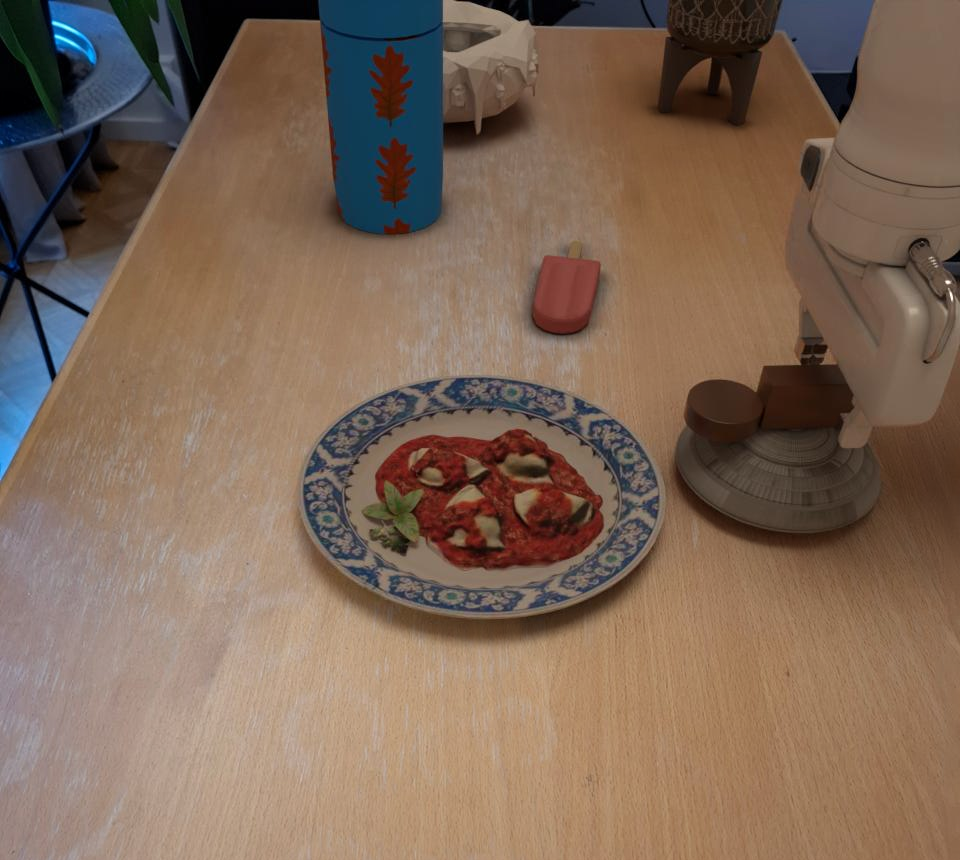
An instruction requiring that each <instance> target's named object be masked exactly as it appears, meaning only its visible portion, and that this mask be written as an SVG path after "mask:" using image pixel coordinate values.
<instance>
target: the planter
mask: <svg viewBox="0 0 960 860" xmlns="http://www.w3.org/2000/svg"><path fill="white" fill-rule="evenodd" d="M783 1H784V0H668V2H667V11H666V30H667V33H668V34H669V36H665V41H664V51H663V58H662V59H663V60H662V68H661V77H660V86H659V92H658V93H659V94H658V102H657V109H658V110H659V112H660V113H670V112H671V109H672V106H673V102H674V99H675V97H676V94H677V91H678V89H679V86H680V84H681V83H682V81H683V79H684V78H685V77H686V76H687V74H688V73H689V72H690V71H691V70H692V69H694V67H696V66H697V65H698V64H700V63H701V62H704V61H706V60H708V59H711V62H710V69H709V77H708V82H707V87H706V88H707V89H706V94H707V95H711V96H718V94H719V92H720V87H721V82H722V77H723V72H724V71H725V73H726V75H727V78H728V81H729V86H730V91H731V108H730V109H731V112H730V117H729V118H730V119H729V122H730V123H731V124H733V125H735V126H740V125H742V124H745V121H746V118H747V114H748V111H749V106H750V102H751V98H752V94H753V90H754V87H755V86H754V85H755V84H756V80H757V79H756V78H757V75H758V72H759V71H758V70H759V67H760V64H761V60H762V55H763V51H762V50H760V49H762V48H764V47H765V46H767V45H768V44H769V42H770V41H771V40H772V38H773V36H774V34H775V31H776V27H777V23H778V19H779V15H780V12H781V7H782V6H783V5H782V4H783Z"/></svg>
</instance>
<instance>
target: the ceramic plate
mask: <svg viewBox="0 0 960 860" xmlns="http://www.w3.org/2000/svg"><path fill="white" fill-rule="evenodd" d="M297 479H298V480H297V494H296V495H297V505H298V509H299V514H300V517H301V520H302V523H303V525H304V528H305V531H306V532H307V534H308V536H309V538H310V540H311V542H312V543H313V544H314V546H315V547H316V549H317V550H318V551H319V553H320V554H321V555H322V556H323V558H324V559H326V561H327V562H328V563H329V564H330V565H331V566H332V567H333V568H335V569H336V570H337V571H338V572H339V573H340V574H342V575H343V576H344V577H346V578H348V579H349V580H350V581H352V582H353V583H355V584H356V585H358V586H359V587H361V588H362V589H364V590H366V591H368V592H370V593H372V594H374V595H376V596H379V597H380V598H382V599H384V600H387V601H389V602H392V603H395V604H397V605H400V606H403V607H406V608H408V609H412V610H416V611H420V612H424V613H427V614H433V615H439V616H442V617H443V616H444V617H450V618H461V619H470V620H505V619H506V620H508V619H516V618H525V617H526V618H527V617H531V616H538V615H542V614H548V613H552V612H555V611H559V610H563V609H566V608H568V607H572V606H575V605H577V604H579V603H583V602H584V601H587V600H589V599H591V598H593V597H595V596H598V595H600V594H601V593H603V592H604V591H607V590H608V589H610V588H612V587H613V586H614V585H616V584H617V583H619V582H620V581H621V580H622V579H624V578H625V577H627V576H628V575H629V574H630V573H631V572H632V571H633V570H634V569H636V568H637V566H638V565H639V564H640V563H641V562H642V561H643V560H644V558H646V556H647V555H648V553H649V552H650V550H651V549H652V548H653V546H654V544H655V542H656V540H657V538H658V536H659V534H660V531H661V529H662V525H663V522H664V520H665V514H666V509H667V508H666V507H667V500H666V499H667V498H666V497H667V496H666V495H667V494H666V487H665V481H664V478H663V475H662V471H661V469H660V466H659V464H658V461H657V460H656V458H655V456H654V455H653V453H652V451H651V450H650V448H649V447H648V446H647V444H646V443H645V442H644V440H643V439H642V438H641V436H639V434H637V433H636V432H635V431H634V430H633V428H631V427H630V426H629V425H628V424H627V423H625V422H624V421H623V420H622V419H620V418H619V417H618V416H617V415H615V414H614V413H613V412H611V411H610V410H608V409H606V408H604V407H603V406H602V405H599V404H597V403H596V402H594V401H592V400H591V399H588V398H586V397H585V396H582V395H579V394H577V393H575V392H572V391H569V390H566V389H564V388H560V387H558V386H555V385H552V384H548V383H544V382H540V381H536V380H532V379H526V378H521V377H520V378H519V377H512V376H507V375H493V374H459V375H447V376H438V377H437V376H436V377H428V378H424V379H419V380H416V381H413V382H408V383H405V384H400V385H398V386H394V387H391V388H389V389H386V390H384V391H380V392H378V393H375V394H374V395H371V396H369V397H367V398H365V399H363V400H362V401H359V402H358V403H357V404H355V405H353V406H351V407H350V408H349V409H347V410H346V411H344V412H342V413H341V414H340V415H338V416H337V417H335V418H334V419H333V420H332V421H331V422H330V423H329V424H328V425H327V426H326V427H325V428H324V429H323V430H322V431H321V432H320V434H318V436H317V438H316V439H315V440H314V441H313V443H312V444H311V445H310V447H309V449H308V451H307V453H306V455H305V456H304V459H303V461H302V464H301V467H300V470H299V474H298V478H297Z"/></svg>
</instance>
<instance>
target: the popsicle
mask: <svg viewBox="0 0 960 860" xmlns="http://www.w3.org/2000/svg"><path fill="white" fill-rule="evenodd" d="M582 249H583V243H582V242H581V241H577V240H573V241H571V242H570V245H569V248H568V254H567V256H559V255H551V254H546V255H544V257H543V259H542V263H541V267H540V271H539V274H538V279H537V282H536V283H537V284H536V288H535V292H534V298H533V303H532V312H531V313H532V314H531V315H532V317H533V319H534V322H535V325H537V326H538V327H539V328H541V329H542V330H543V331H547V332H550V333H554V334H562V335H563V334H573V333H575V332H579V331H581V330H582V329H583V328H585V326H586V325H587V324H588V323H589V322H590V317H591V314H592V310H593V305H594V303H595V299H596V294H597V289H598V285H599V281H600V274H601V268H602V267H601V266H602V264H601V261H599V260H595V259H594V260H593V259H585V258H583V259H582V258H581V255H582Z"/></svg>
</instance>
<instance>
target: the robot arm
mask: <svg viewBox="0 0 960 860" xmlns="http://www.w3.org/2000/svg"><path fill="white" fill-rule="evenodd" d="M856 65H857V66H856V87H855V90H854V91H855V92H854V94H853V98H852V101H851V104H850V106H849V109H848V110H847V112H846V114H845V116H844V117H843V118H842V120H841V122H840V123H839V126H838V127H837V129H836V132H835V135H834V137H820V138H819V137H818V138H817V137H816V138H808V139H806V140H805V141H804V143H803V145H802V148H801V151H800V155H799V159H798V164H797V170H798V174H799V176H800V177H801V179H800V181H799V183H798V185H797V188H796V193H795V196H794V200H793V203H792V209H791V212H790V217H789V222H788V226H787V231H786V237H785V240H784V264H785V265H784V266H785V270H786V271H787V273H788V275H789V276H790V278H791V280H792V282H793V284H794V286H795V288H796V289H797V292H798V293H799V295H800V300H799V303H798V336H797V338H796V341H795V346H794V349H793V352H794V353H793V354H794V355H795V357H796V358H797V360H798V362H799V365H822V363H823V362H824V360H825V358H826V353H827V352H828V350H829V351H830V354H831V355H832V357H833V359H834V361H835V364H837V365H838V367H839V368H840V370H841V372H842V374H843V376H844V378H845V380H846V382H847V384H848V385H849V387H850V389H851V391H852V393H853V395H854V396H853V398H852V404H853V406H855V407H854V409H853V410H852V411H851V412H850V413H840V414H839V417H838V420H837V426H835V428H834V433H835V436H836V438H837V440H838V442H839V444H840V446H841V447H842V448H860V447H862V446H864V445H865V444H866V443H868V440H869V438H870V435H871V433H872V430H873V428H911V427H912V428H913V427H918V426H922V425H924V424H925V423H927V422H929V421H930V420H931V419H932V418H933V417H934V416H935V414H936V412H937V410H938V408H939V405H940V403H941V400H942V399H943V398H942V397H943V395H944V392H945V389H946V387H947V384H948V381H949V379H950V376H951V373H952V370H953V366H954V364H955V360H956V358H957V355H958V351H959V348H960V301H959V299H958V297H957V296H956V293H957V290H958V284H957V282H956V279H955V277H954V276H953V275H952V273H951V272H950V271H949V270H947V269H945V267H944V266H943V264H942V262H945V261H946V260H949V259H951V258H952V257H953V256H955V255H956V254H957V253H958V252H959V251H960V0H874V2H873V4H872V7H871V10H870V14H869V18H868V21H867V24H866V27H865V30H864V35H863V38H862V40H861V44H860V48H859V51H858V56H857V64H856Z"/></svg>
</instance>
